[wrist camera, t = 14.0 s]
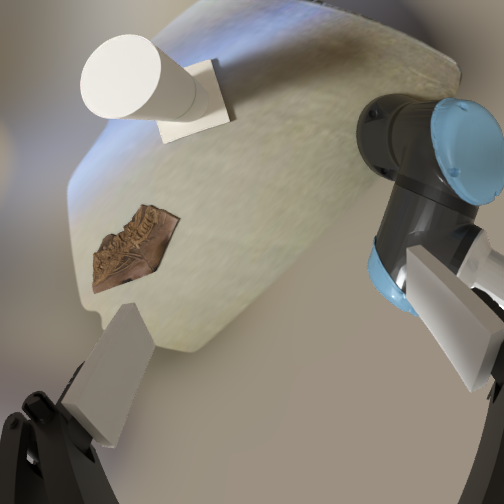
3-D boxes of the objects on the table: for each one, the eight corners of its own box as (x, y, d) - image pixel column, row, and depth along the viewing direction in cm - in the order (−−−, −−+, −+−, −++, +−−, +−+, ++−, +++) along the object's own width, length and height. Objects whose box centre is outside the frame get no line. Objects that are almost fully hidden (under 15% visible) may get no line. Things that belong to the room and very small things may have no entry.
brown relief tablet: (158, 190, 48) (156, 192, 47) (197, 240, 51) (196, 242, 50) (74, 267, 54) (71, 269, 53) (107, 306, 57) (105, 308, 56)
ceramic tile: (211, 60, 39) (210, 59, 38) (230, 121, 43) (229, 121, 42) (147, 84, 40) (145, 83, 39) (165, 143, 44) (163, 144, 44)
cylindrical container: (181, 72, 39) (111, 23, 16) (218, 94, 41) (179, 55, 18) (156, 109, 41) (66, 97, 18) (191, 131, 43) (128, 134, 20)
